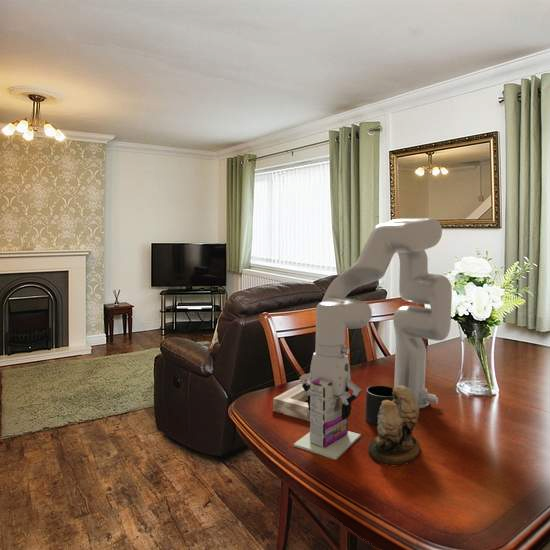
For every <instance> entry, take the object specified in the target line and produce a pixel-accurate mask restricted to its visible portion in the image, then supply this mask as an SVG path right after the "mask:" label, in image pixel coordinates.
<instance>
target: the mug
mask: <svg viewBox="0 0 550 550" xmlns="http://www.w3.org/2000/svg"><path fill="white" fill-rule="evenodd" d="M393 388H394V387H393V386H387V385H371V386H369V387H367V388H366V391H365V392H366V393H365V421H366V422H367V423H368V424H371V425H372V426H376V427H378V424H377V422H378V417H377V416H378V414H379V411H380V406H381V404H382V403H381V402H382V401H384V400H389V401H393V395H392V392H393Z"/></svg>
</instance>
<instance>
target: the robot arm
mask: <svg viewBox="0 0 550 550" xmlns="http://www.w3.org/2000/svg"><path fill="white" fill-rule="evenodd" d="M442 235H443V228H442V225H441V223H440V222H439V221H438V220H437V219H435V218H432V217H419V218H418V217H417V218H414V217H413V218H412V217H411V218H410V217H408V218H407V217H405V218H394V219H391V220H389V221H388V222H383V223H382V222H381V223H379V224H377V225H375V226H374V228H373V229H372V230H371V232H370V234H369V236H368V238H367V240H366V243H365V244H364V246H363V247H362V250H361V252H360V254H359V256H358V259H357V260H356V262H355V263H354V264H353V265H352V266H349V267H348V268H347V269H345V270H344V271H343V272H341V273H340V274H339V275H338V276H337V277H335V278H334V279H333V281H331V283H330V284H329V286H328V287H327V289H326V291H325V293H324V296H323V297H322V300H321V302H318V304H317V305H316V308H315V309H316V310H315V349H314V350H315V351H314V352H313V354H312V358H311V362H310V369H309V373H306V374H303V375H301V376H299V380H300V384H301V383H302V387H303V388H304V390H305V391H306V395H307V396H308V400H307V403H308V406H309V411H310V385H309V383H307V381H308V380H309V382H312V381H314V380H320V381H325V382H329V383H332V392H333V395H335V396H340V398H341V399H342V401H343V402H344V404H342V419H343V420H345V419H346V418H348V419H349V417H350V416H351V414H352V413H351V409H352V406H351V405H352V402H353V401H355V400H356V399H358V398H359V395H360V393H361V391H362V389H361V387H359V385H357V384H356V383H355V382H353V381H352V380H351V368H350V362H349V357H348V356H349V355H346V354H349V353H350V348H348V347H346V330H347V329H361V328H364V327H366V326H367V325H368V324H369V323H370V321H371V319H372V312H373V311H372V309H371V306H370V305H369V304H368V303H367V302H365V301H363V300H359V299H354V298H353V299H352V298H348V297H347V296H348V295H349V293H351V292H353V291H354V290H355V289H357V288H359V287H362V286H365V285H369V284H371V283H374V282H377V281H379V280H381V279H382V278H384V276H385V274H386V272H387V270H388V267H389V265H390V263H391V261H392V259H393V258H394V256H395V254H396V253H397V254H398V258H399V259H398V260H399V280H398V281H399V284H398V285H399V288H398V291H399V296H400V298H401V299H402V300H403V301H405V302H410V303H415V304H416V303H417V304H424V305H429V306H430V308H428V307H423V306H416V305H403V306H400V307H397V309H396V310H395V312H394V314H393V327H394V328H393V329H394V335H395V337H394V338H395V358H394V362H395V363H394V381H393V382H394V383H393V385H394V386H393V388H394V387H395V386H397V385H402V386H405V387H407V388H408V389H410V390H411V392H412V393H413V395H414V397H415V401H416V402H417V404H418V405H419V409H425V408H427V407H428V406H429V405H430V403H432V404H438V403H439V397H437V395H436V394H432V393H429V392H428V388H426V387H425V385H426V364H427V348H426V344H425V342H424V340H423V339H426V340H430V341H440V342H441V341H444V340H446V339H447V338H448V335H449V334H450V331H451V326H452V324H451V323H452V302H453V301H452V299H453V298H452V297H453V288H452V285H451V281H450V280H449V279H448V277H446V276H444V275H442V274H436V273H429V271H428V270H429V269H428V266H429V265H428V263H429V261H428V260H429V259H428V255H427V251H426V250H428V249H431V248H433V247H435V246H437V245H438V244H439V242H440V241H441V238H442ZM348 391H349V392H350V391H352V394H351V395H350V393H348Z"/></svg>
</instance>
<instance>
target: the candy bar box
mask: <svg viewBox="0 0 550 550" xmlns="http://www.w3.org/2000/svg"><path fill="white" fill-rule="evenodd" d="M309 382H310V381H309ZM342 404H344V402H343V401H342V399H341V398H340V396H335V395H333V392H332V383H329V382H325V381H320V380H314V381H312V382H310V421H309V432H310V443H312V444H315V445H317V446H320V447H322V448H325V447H327V446H329V445H330V444H332V443H334V442H335V441H337V440H338V439H340V438H342V437H343V436H345V435H347V434H348V431H349V417H348V418H346V419H345V420H343V419H342Z"/></svg>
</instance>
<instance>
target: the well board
mask: <svg viewBox="0 0 550 550" xmlns="http://www.w3.org/2000/svg"><path fill="white" fill-rule="evenodd" d="M307 383H309V385H310V380H307ZM349 392H350V391H348V393H349ZM349 394H350V393H349ZM272 400H273V401H272V405H273V407H272V411H273V412H275V411H276V413H280V414H282V413H283V414H282V415H285V416H289V417H293V418H297V419H301V420H303V421H304V420H305V421H308V422H310V411H309V406H308V402H306V401H308V396H307V395H306V391H305V390H304V388H303V387H302V383H301V382H300V383H299V384H297V385H295V386H293V387H292V388H290V389H288V390H286V391H284V392H282V393H281V394H279V395H278V396H275V397H274V398H273V399H272Z"/></svg>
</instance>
